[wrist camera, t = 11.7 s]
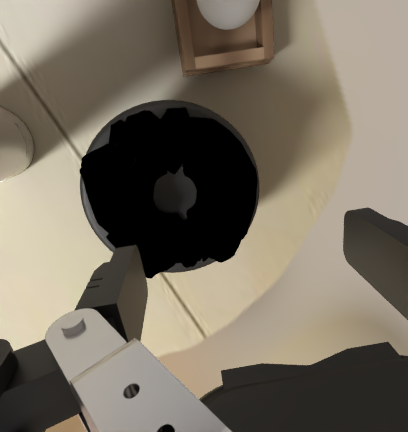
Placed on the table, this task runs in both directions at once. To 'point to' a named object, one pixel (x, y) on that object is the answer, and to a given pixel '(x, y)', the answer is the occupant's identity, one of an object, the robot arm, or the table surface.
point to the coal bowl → (170, 185)
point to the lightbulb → (227, 12)
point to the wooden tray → (222, 40)
